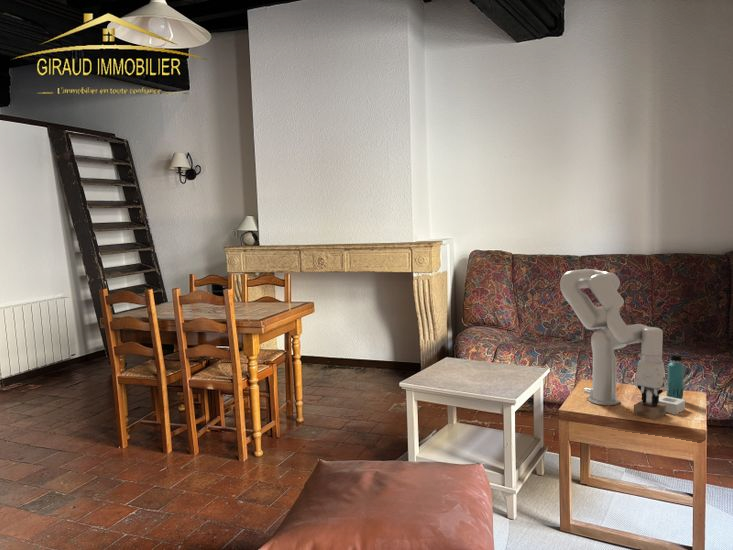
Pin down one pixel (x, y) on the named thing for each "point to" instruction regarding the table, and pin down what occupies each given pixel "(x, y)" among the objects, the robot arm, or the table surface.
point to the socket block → (650, 410)
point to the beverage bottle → (675, 377)
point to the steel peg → (649, 397)
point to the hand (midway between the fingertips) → (650, 403)
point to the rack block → (672, 404)
